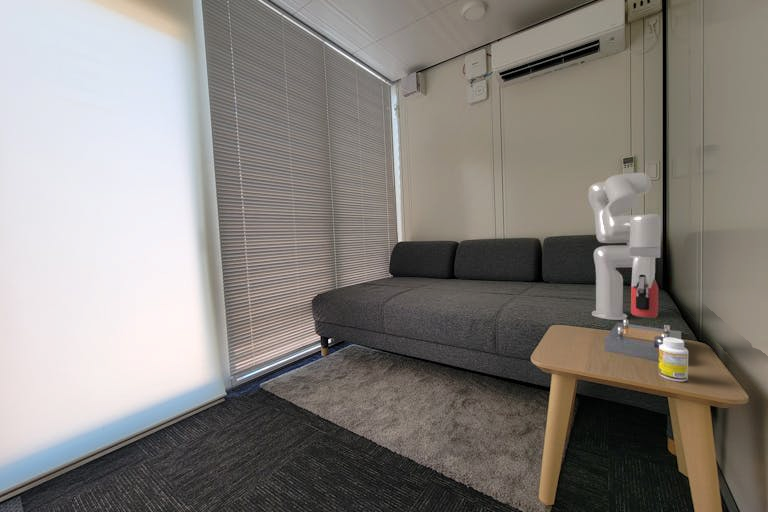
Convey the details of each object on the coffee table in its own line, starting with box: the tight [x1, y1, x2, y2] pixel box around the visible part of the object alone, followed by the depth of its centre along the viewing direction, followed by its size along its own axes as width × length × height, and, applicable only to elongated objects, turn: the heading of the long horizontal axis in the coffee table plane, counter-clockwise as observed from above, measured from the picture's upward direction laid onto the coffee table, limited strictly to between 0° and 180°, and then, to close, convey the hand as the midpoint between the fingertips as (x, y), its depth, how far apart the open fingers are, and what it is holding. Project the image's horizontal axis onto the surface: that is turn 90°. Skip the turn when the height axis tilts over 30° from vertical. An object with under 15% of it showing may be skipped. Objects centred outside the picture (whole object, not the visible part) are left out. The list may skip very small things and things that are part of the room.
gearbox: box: [604, 319, 682, 362], centre depth 99 cm, size 25×17×7 cm
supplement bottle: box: [658, 337, 689, 382], centre depth 78 cm, size 6×6×10 cm
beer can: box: [630, 279, 659, 319], centre depth 97 cm, size 7×7×12 cm
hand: (644, 306), depth 98 cm, fingers closed on beer can, 6 cm apart
